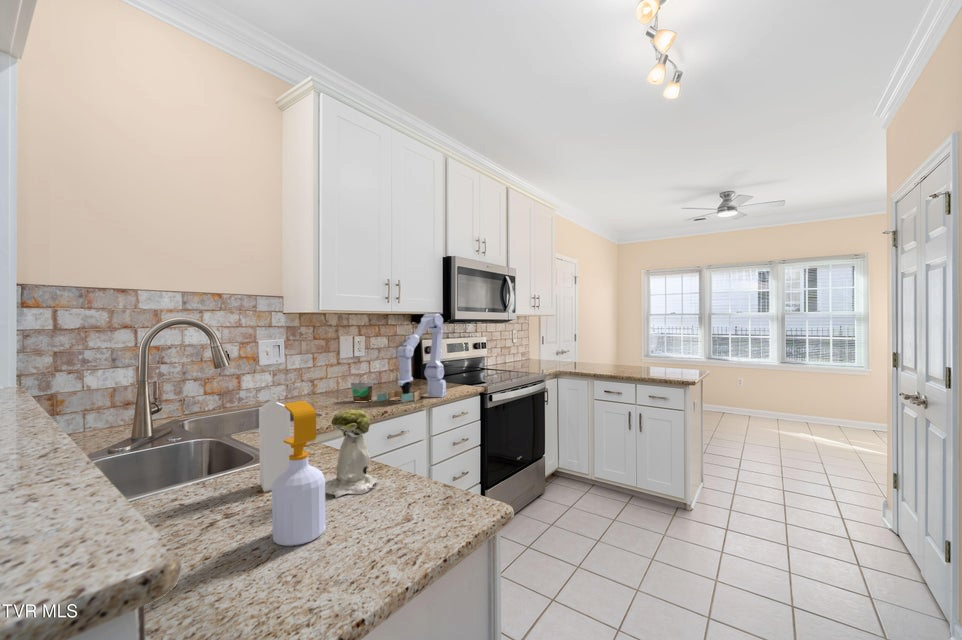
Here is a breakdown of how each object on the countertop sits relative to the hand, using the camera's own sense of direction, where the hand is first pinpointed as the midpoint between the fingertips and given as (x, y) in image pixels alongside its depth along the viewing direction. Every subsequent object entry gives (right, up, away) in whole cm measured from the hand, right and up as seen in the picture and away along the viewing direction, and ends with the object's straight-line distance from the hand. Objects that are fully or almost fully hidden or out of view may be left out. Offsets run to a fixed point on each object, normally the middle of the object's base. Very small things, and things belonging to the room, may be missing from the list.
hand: (406, 397), depth 205 cm
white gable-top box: (-13, -2, -104) cm, 105 cm away
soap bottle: (+3, -2, -128) cm, 128 cm away
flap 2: (+1, -1, -1) cm, 2 cm away
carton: (-2, -2, +7) cm, 8 cm away
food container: (-24, -3, +2) cm, 24 cm away
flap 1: (-12, -2, +1) cm, 12 cm away
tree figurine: (+6, -2, -106) cm, 106 cm away
